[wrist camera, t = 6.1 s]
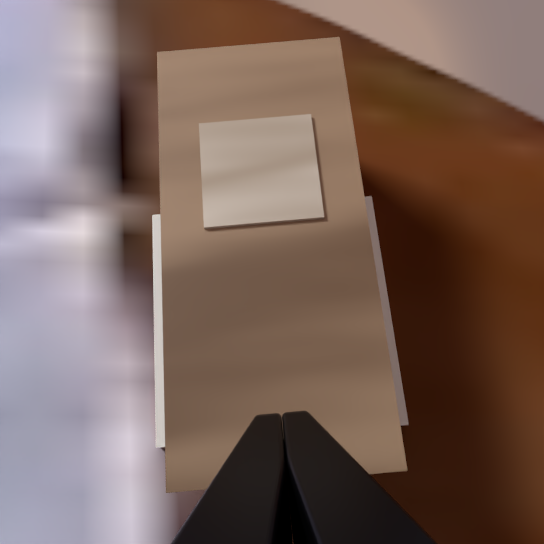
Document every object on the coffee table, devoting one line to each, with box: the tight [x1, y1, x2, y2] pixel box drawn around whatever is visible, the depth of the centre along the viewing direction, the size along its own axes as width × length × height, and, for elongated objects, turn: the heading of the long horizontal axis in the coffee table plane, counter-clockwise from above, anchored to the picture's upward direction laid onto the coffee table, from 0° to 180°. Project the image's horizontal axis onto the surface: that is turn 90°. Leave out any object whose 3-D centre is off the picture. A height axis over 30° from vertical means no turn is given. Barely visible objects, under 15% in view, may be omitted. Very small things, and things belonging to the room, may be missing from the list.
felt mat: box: [152, 196, 409, 448], centre depth 15 cm, size 7×7×1 cm
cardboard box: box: [157, 37, 408, 493], centre depth 13 cm, size 5×4×10 cm
